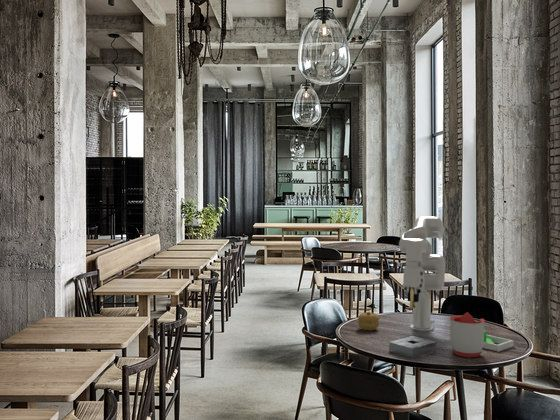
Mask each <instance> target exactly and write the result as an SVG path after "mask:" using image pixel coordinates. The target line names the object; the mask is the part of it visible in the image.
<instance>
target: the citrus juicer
mask: <svg viewBox="0 0 560 420" xmlns="http://www.w3.org/2000/svg"><path fill="white" fill-rule="evenodd" d="M449 319H450V333H449V334H450V336H449V337H450V344H451V348H452V349H451V350H452V351H453V353H454V355H456V356H458V357H459V356H460V357H464V358H467V359H469V358H476V357H480V355H481V354H482V350H483V348H482V347H483V343H484V330H485V322H486V320H485V319H484V318H480V319H479V320H478V321H476V320H475V319H474V317H473V315H471V314H470V313H469V312H465V313H464V314H461V315H458V314H457V315H452V316H450V317H449Z"/></svg>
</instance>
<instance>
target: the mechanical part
mask: <svg viewBox="0 0 560 420" xmlns="http://www.w3.org/2000/svg"><path fill="white" fill-rule="evenodd" d="M486 334H487V331H486V330H485V329H484V342H489V343H493V344H495V343H494V342H493V341H492V340H491V339H490V338H486Z"/></svg>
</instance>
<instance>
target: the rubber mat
mask: <svg viewBox="0 0 560 420" xmlns="http://www.w3.org/2000/svg"><path fill="white" fill-rule="evenodd" d="M410 336H415V337H419V338H423V339H426V338H424V337H421V336H416V335H412V334H409V335H405V336H402V337H399V339H403V338H406V337H410Z"/></svg>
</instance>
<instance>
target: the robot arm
mask: <svg viewBox="0 0 560 420" xmlns="http://www.w3.org/2000/svg"><path fill="white" fill-rule="evenodd" d="M444 234H445V227H444V224H443V221H442V219H441V218H439V217H437V216H419V217H417V218H416V219H415V220H414V223H413V225H412V228H410V229H408V230H407V231H405V232H403V233H402V234H401V235H400V240H399V242H398V247H399V248H398V249H399V251H400V252H401V253H403V254H405V255H406V256H405V267H404V271H403V279H402V280H403V283H402V286H401V287H402V288H403V289H405V291H406V294H407V301H408V302H410V287H413V288H414V289H415V294H414V302H416V308H412V324H410V326H409V328H410V329H411V330H414V331H420V332H421V331H422V332H424V331H425V332H426V331H427V332H429V331H433V330H434V326H433V325H432V324H435V322H436V321H435V319H431V310H432V309H431V304H432V302H431V301H432V299H431V295H430V294H429V292H428V291H443V290H444V287H445V281H446V279H445V276H446V275H445V274H446V259H445V257H444V256H443V255H442V254H433V246H432V244H431V243H430V241H429V240H428V239H441V238H443V237H444Z"/></svg>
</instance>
